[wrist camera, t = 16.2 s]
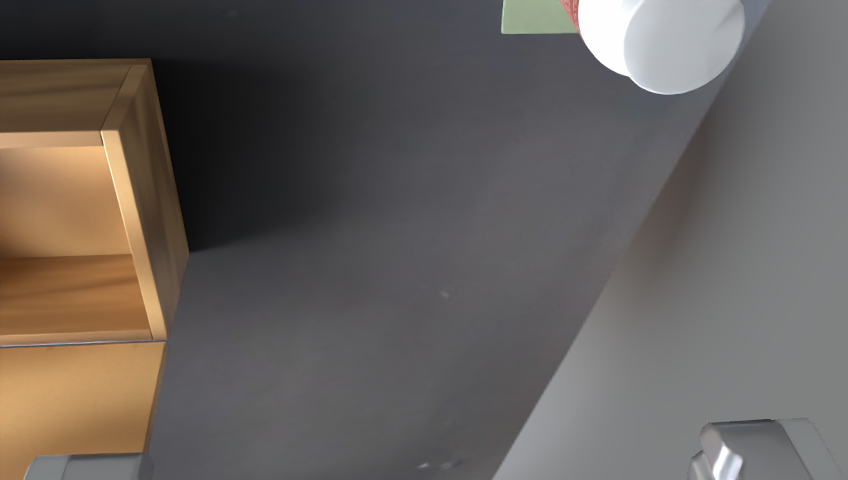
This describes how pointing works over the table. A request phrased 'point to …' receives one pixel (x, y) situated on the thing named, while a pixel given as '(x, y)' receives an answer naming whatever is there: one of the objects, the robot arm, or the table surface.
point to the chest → (86, 204)
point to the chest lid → (77, 401)
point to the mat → (535, 17)
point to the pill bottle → (661, 38)
